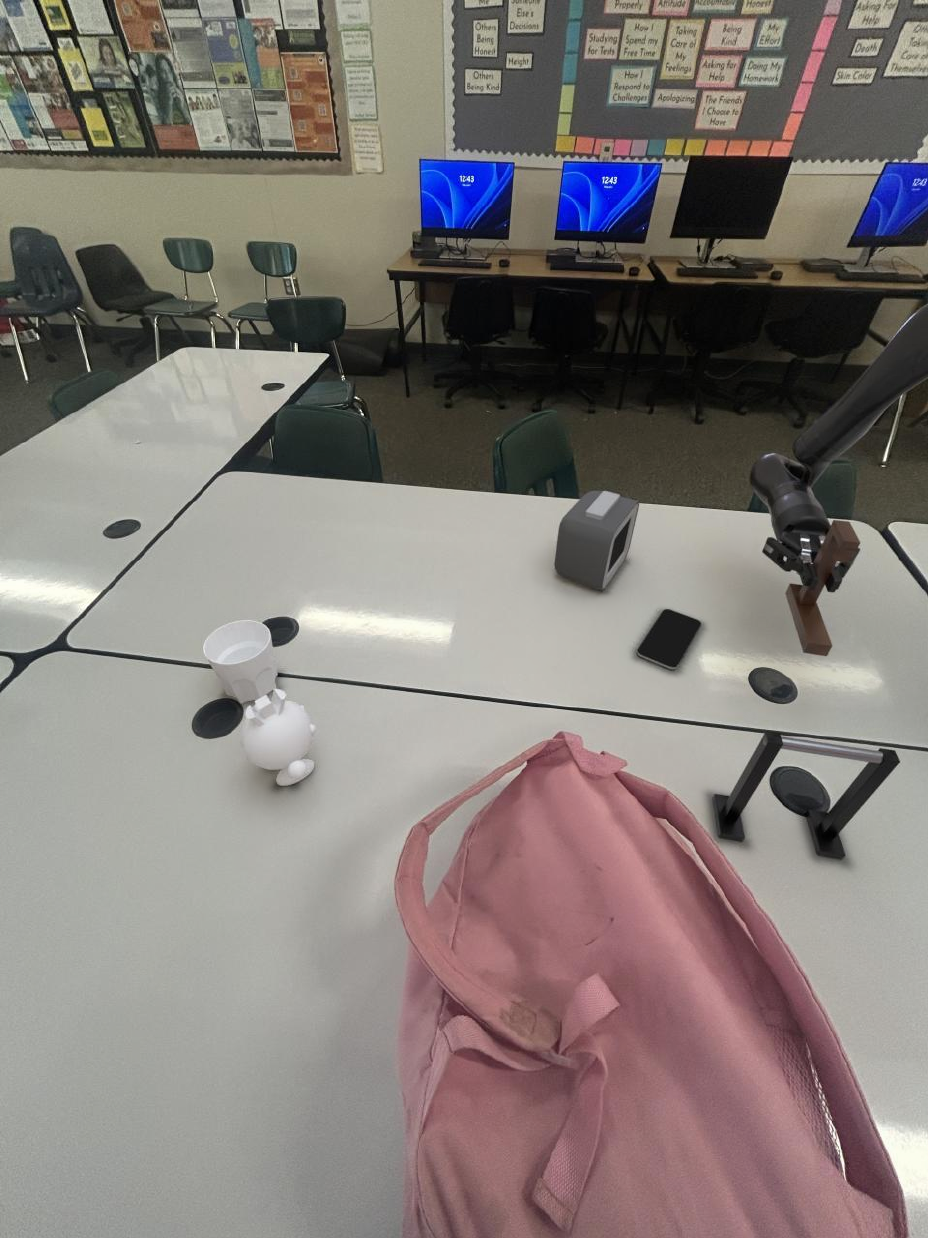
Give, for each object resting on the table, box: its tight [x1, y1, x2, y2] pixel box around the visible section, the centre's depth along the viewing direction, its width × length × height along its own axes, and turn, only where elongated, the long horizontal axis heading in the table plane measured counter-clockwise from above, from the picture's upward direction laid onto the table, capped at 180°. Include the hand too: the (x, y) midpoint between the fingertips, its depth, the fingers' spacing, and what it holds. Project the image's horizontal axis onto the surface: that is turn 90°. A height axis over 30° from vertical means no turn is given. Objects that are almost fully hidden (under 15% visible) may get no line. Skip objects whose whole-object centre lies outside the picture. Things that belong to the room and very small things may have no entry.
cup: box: [202, 619, 279, 704], centre depth 91 cm, size 10×10×10 cm
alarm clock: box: [553, 490, 640, 592], centre depth 114 cm, size 16×11×16 cm
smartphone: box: [636, 608, 702, 670], centre depth 102 cm, size 7×1×15 cm
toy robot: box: [239, 688, 317, 787], centre depth 77 cm, size 15×10×15 cm, turn 36°
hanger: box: [784, 519, 862, 657], centre depth 79 cm, size 3×14×15 cm, turn 166°
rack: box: [712, 730, 901, 860], centre depth 69 cm, size 15×6×18 cm, turn 79°
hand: (824, 585), depth 79 cm, fingers closed on hanger, 2 cm apart
